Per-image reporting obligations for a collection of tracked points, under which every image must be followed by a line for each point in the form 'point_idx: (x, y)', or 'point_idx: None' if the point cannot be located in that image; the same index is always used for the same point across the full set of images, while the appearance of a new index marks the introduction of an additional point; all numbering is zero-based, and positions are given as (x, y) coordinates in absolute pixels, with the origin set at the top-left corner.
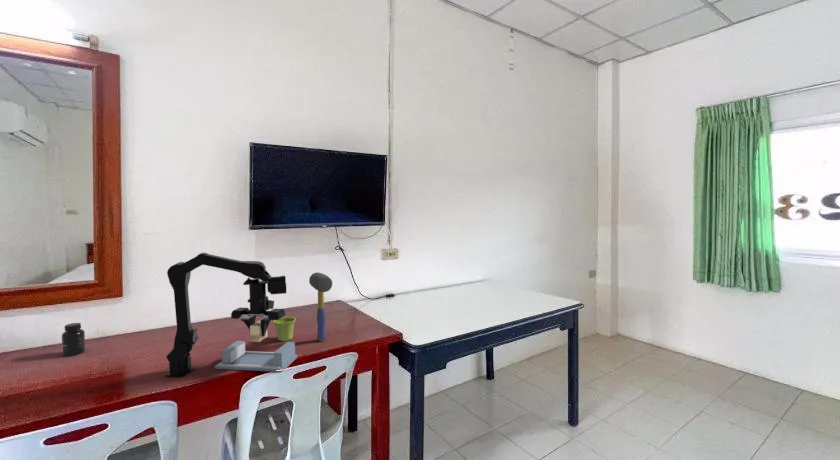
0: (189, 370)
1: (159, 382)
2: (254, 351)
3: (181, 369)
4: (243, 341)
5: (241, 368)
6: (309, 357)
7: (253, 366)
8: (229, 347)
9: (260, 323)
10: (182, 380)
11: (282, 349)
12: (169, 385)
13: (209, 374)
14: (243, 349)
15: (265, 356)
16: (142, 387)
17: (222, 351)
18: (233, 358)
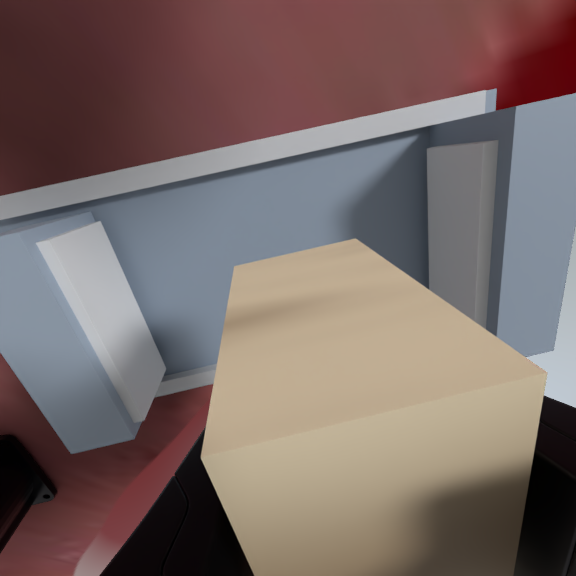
0: (20, 463)
1: (22, 536)
2: (140, 168)
3: (15, 516)
4: (21, 248)
5: None
6: (569, 69)
7: None
8: (60, 398)
9: (445, 563)
10: (92, 500)
11: (536, 295)
12: (91, 533)
13: (145, 436)
14: (94, 255)
15: (280, 199)
16: (13, 569)
17: (80, 446)
18: (154, 363)
